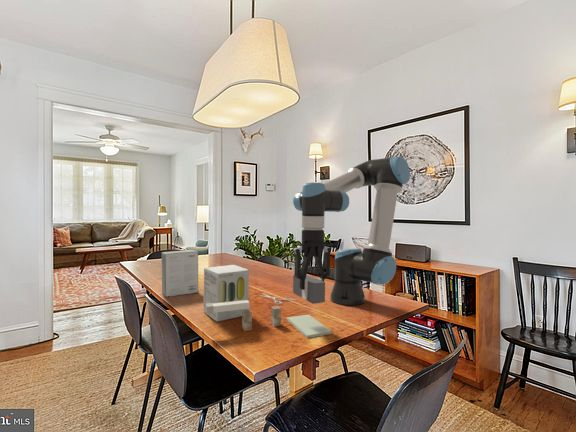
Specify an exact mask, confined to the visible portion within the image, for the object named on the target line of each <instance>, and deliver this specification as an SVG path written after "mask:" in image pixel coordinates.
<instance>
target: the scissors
mask: <svg viewBox="0 0 576 432" xmlns="http://www.w3.org/2000/svg"><path fill="white" fill-rule="evenodd" d="M262 294H263V295H260V294H258V296H261V297H264V298H269V299H271V300H273V301H274V304H275V305H282V304H283V302H282V301H280V299H281V300H285V301H288V300H290V301H297V300H298V299H297V298H296V299H295V298H291V297H276V296H270V295H268V294H266V293H264V292H262ZM276 299H277V300H276ZM278 299H279V301H278Z"/></svg>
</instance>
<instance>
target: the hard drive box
mask: <svg viewBox="0 0 576 432" xmlns="http://www.w3.org/2000/svg"><path fill="white" fill-rule="evenodd" d="M195 293H199V251H198V250H195V249H186V250H173V251H172V250H171V251H162V252H161V294H162V295H163V296H164V297H165V298H167V297H168V296H169V297H175V296H176V297H177V296H182V295H189V294H190V295H191V294H195Z"/></svg>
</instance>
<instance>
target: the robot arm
mask: <svg viewBox="0 0 576 432" xmlns="http://www.w3.org/2000/svg"><path fill="white" fill-rule="evenodd" d="M409 166H410V165H409V163H408V162H407V160H406V159H405V158H404V157H402V156H391V157H384V158H376V159H369V160H366V161H365V162H362V163H359V164H358V165H356V166H353V167H351V168H349V169H348V170H347V172H346V173H344V174H342V175H340V176H338V177H335V178H333V179H331V180H329V181H327V182H324V183H323V182H305V183H303V186H302V189H301V190H302V191H301V192H297V193H296V194H295V195H294V196H293V198H292V199H293V200H292V203H293V206H294V208H295V209H296V210H297V211H301V228H303V229H301V244H300V246H298V247H293V249H292V250H293V254H294V273H293V275H294V276H295V277H296V278H298V279H300V289H302V299H303V300H305V301H307V293H308V280H306V275H308V271H309V265H310V262H311V259H312V258H314V260H315V264H316V265H315V266H316V270H317V275H318V277H316V278H315V279H318V280H320V281H323V282H325V280H326V279H327V278H328V277H329V276H330V275H331V274H330V273H331V271H330V270H331V265H330V264H331V252H332V251H333V250H332V248H331V247H329V246H326V245H325V243H324V242H325V241H324V240H325V230H324V229H325V213H326V212H330V213H331V212H332V213H333V212H334V213H335V212H336V213H339V212H344V211H346V210H347V209H348V208H349V206H350V197H349V195H348V194H347V193H348V192H349V191H352V190H354V189H360V188H362V187H368V186H369V187H370V186H373V188H374V189H375V190H376V193H375V199H374V206H373V210H372V211H373V212H372V217H371V224H370V230H369V236H368V243H367V245H366V246H364V247H363V249H361V248H346V249H344V248H343V249H337V250H336V251H335V255H334V284H333V286H332V288H331V293H330V301H331V302H333V303H335V304H338V305H343V306H358V305H359V306H360V305H363V304H364V303H365V302H366V296H365V293H364V292H365V291H364V289H363V286H362V281H364V282H367V283H372V284H373V285H374V284H375V285H387V284H389V283H390V282H391V281H392V280H393V278H394V276H395V274H396V270H397V261H396V259H395V258H394V257H393V256H392V255H393V252H392V251H391V249H390V243H391V240H392V239H391V237H392V231H393V224H394V220H395V219H394V218H395V212H396V206H397V199H398V194H399V192H401V191H402V190H403V185H407V184H408V183H409V181H410V178H411V170H410V167H409ZM302 252H303V256H302ZM322 252H323V257H322ZM302 258H303V260H302ZM322 259H323V260H322Z"/></svg>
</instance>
